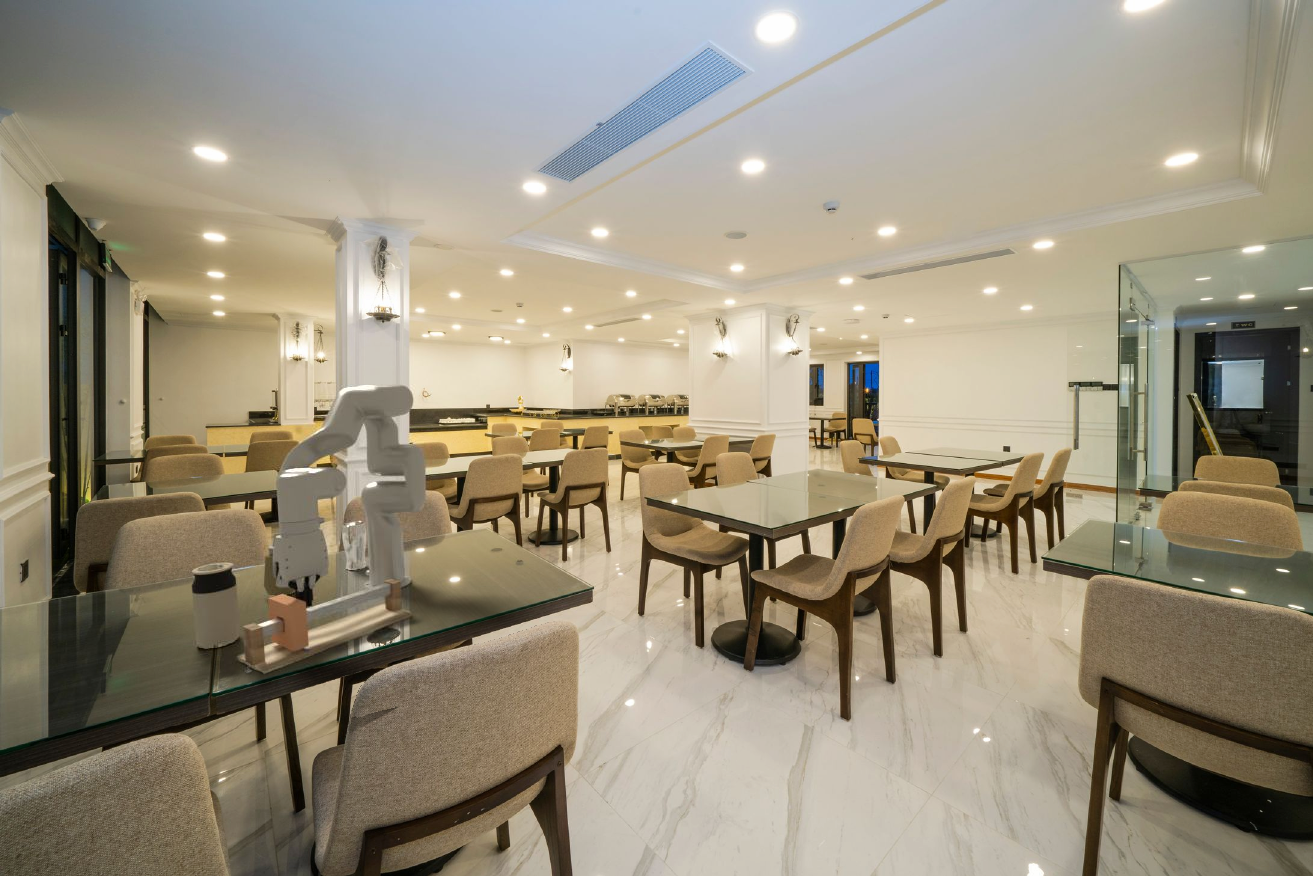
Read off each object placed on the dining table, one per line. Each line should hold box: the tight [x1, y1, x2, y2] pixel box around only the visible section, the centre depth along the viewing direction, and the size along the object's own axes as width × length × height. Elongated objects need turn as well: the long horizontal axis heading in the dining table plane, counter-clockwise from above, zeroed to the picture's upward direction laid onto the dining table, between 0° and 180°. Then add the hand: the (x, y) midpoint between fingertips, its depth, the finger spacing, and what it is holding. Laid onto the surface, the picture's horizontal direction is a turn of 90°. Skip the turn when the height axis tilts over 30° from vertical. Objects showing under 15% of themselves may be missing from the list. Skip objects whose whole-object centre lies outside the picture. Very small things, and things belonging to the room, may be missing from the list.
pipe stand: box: [236, 579, 412, 671], centre depth 130 cm, size 12×34×8 cm, turn 149°
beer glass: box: [341, 520, 368, 571], centre depth 182 cm, size 7×7×15 cm
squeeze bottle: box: [263, 532, 295, 596], centre depth 158 cm, size 8×8×18 cm
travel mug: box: [191, 562, 241, 646], centre depth 127 cm, size 8×8×18 cm
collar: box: [267, 594, 309, 651], centre depth 122 cm, size 10×3×10 cm, turn 59°
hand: (304, 606), depth 125 cm, fingers closed
